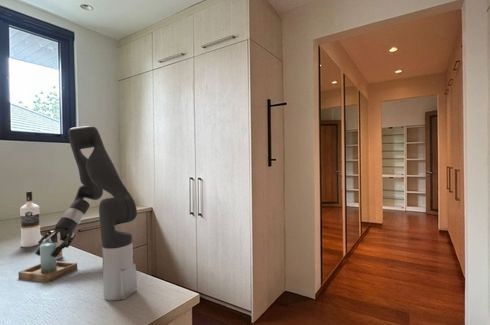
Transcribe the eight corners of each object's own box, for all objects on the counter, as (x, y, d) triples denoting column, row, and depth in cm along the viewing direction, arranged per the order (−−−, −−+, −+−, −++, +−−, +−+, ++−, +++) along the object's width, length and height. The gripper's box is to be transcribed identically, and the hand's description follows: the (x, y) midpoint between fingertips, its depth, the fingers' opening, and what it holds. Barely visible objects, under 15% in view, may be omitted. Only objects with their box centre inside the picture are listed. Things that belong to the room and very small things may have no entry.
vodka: (44, 241, 149) (42, 189, 148) (38, 246, 141) (36, 191, 140) (24, 243, 145) (21, 191, 145) (17, 248, 137) (14, 193, 136)
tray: (77, 268, 109) (77, 263, 109) (49, 282, 98) (49, 275, 98) (48, 265, 113) (48, 260, 113) (18, 278, 102) (18, 272, 102)
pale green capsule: (59, 268, 107) (58, 242, 107) (47, 274, 102) (46, 247, 102) (50, 267, 109) (49, 241, 108) (37, 273, 104) (36, 246, 103)
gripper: (51, 215, 114) (25, 250, 104) (77, 216, 111) (52, 252, 100) (63, 224, 120) (39, 258, 109) (88, 225, 116) (65, 260, 105)
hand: (45, 255), depth 104 cm, fingers open, 8 cm apart
